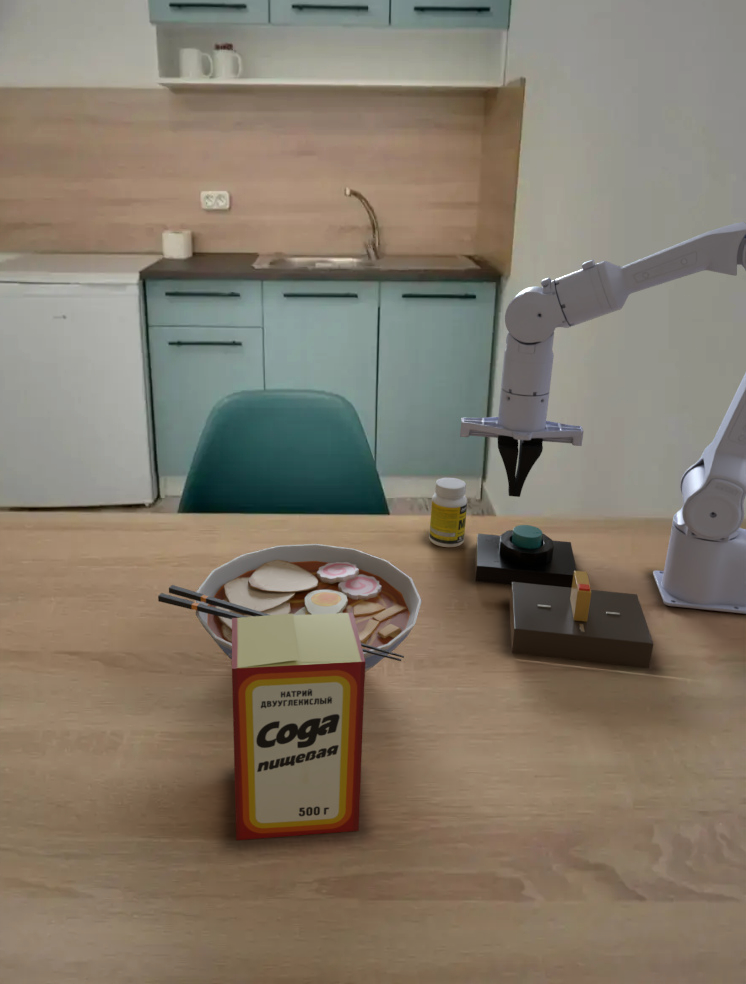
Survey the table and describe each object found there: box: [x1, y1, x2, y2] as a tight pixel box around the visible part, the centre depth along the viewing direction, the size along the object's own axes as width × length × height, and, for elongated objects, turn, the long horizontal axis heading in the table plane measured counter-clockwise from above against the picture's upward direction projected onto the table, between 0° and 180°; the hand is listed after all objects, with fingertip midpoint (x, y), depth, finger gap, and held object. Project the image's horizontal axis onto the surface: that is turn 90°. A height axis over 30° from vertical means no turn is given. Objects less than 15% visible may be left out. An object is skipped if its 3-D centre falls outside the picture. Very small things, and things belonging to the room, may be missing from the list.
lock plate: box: [508, 582, 654, 669], centre depth 91 cm, size 14×10×3 cm
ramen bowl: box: [157, 543, 423, 673], centre depth 85 cm, size 25×23×8 cm
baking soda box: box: [231, 613, 366, 841], centre depth 64 cm, size 10×6×16 cm
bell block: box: [474, 529, 578, 588], centre depth 104 cm, size 12×9×4 cm
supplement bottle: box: [428, 477, 468, 548], centre depth 111 cm, size 5×5×8 cm
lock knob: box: [570, 570, 592, 622], centre depth 90 cm, size 4×1×4 cm, turn 170°
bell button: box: [512, 524, 544, 549], centre depth 104 cm, size 4×4×2 cm
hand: (514, 493), depth 104 cm, fingers closed
